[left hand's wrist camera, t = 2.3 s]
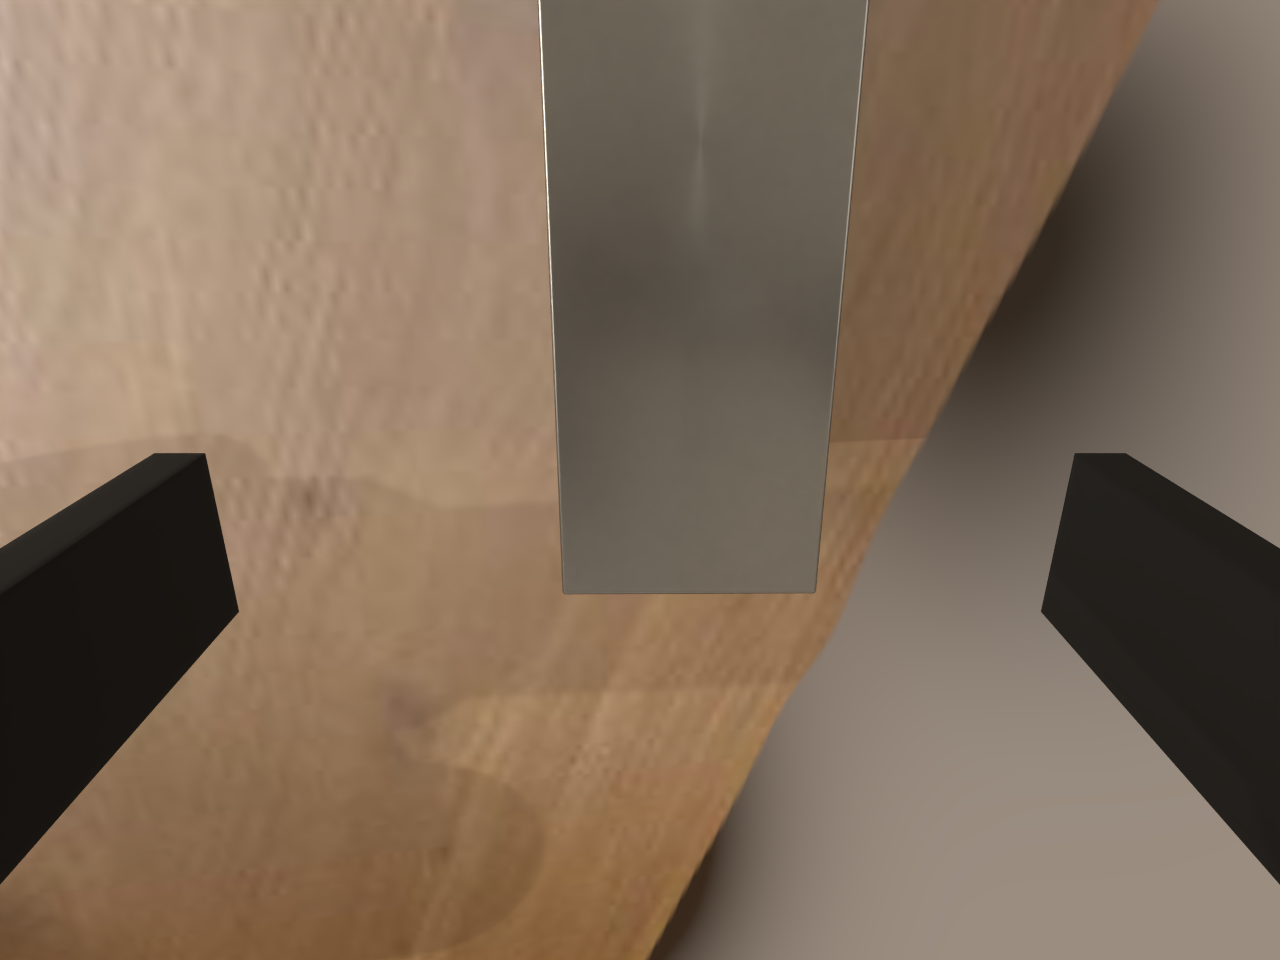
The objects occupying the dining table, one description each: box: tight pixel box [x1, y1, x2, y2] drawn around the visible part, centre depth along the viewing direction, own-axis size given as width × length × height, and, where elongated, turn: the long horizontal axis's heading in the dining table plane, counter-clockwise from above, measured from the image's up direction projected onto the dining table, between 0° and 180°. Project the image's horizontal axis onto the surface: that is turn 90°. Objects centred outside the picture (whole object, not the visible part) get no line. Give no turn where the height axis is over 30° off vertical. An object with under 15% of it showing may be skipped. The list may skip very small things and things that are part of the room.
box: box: [538, 0, 869, 594], centre depth 21 cm, size 20×6×11 cm, turn 0°
